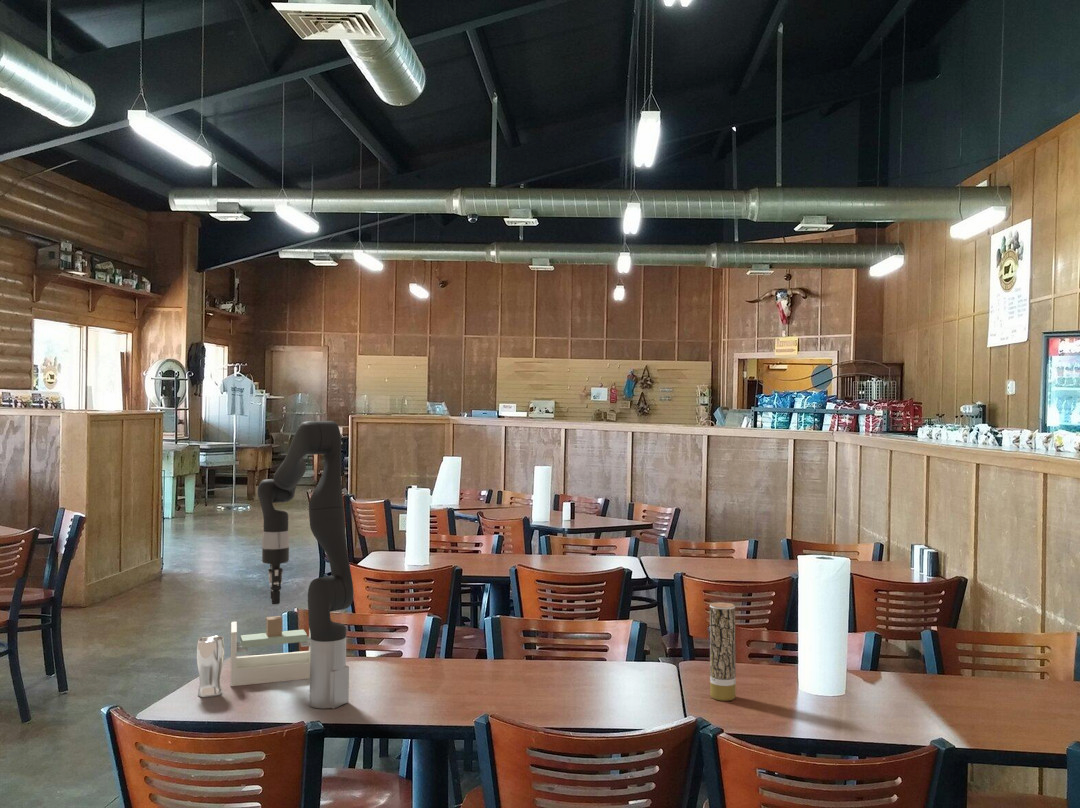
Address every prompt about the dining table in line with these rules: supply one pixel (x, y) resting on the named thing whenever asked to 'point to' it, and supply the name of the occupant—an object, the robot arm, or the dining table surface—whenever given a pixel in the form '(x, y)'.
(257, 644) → the shelf board
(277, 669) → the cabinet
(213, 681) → the beer glass
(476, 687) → the dining table surface
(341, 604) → the robot arm
